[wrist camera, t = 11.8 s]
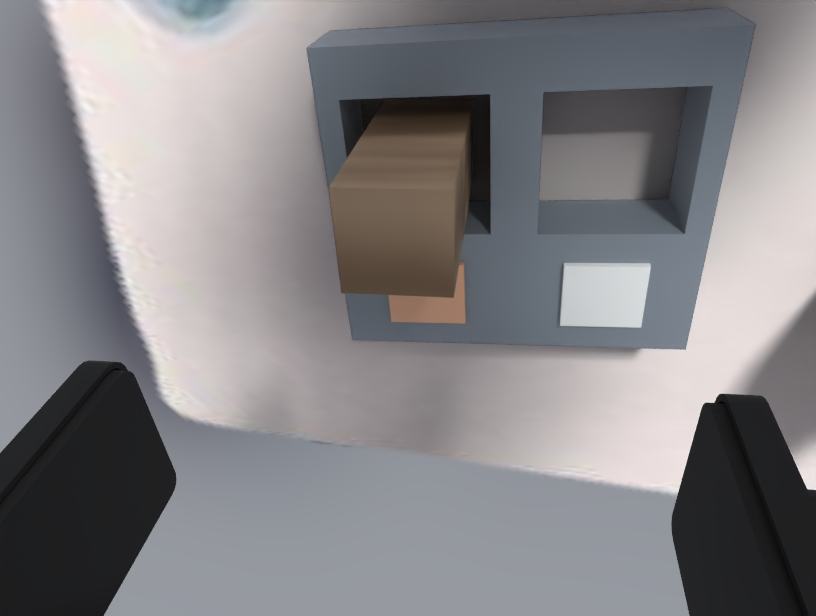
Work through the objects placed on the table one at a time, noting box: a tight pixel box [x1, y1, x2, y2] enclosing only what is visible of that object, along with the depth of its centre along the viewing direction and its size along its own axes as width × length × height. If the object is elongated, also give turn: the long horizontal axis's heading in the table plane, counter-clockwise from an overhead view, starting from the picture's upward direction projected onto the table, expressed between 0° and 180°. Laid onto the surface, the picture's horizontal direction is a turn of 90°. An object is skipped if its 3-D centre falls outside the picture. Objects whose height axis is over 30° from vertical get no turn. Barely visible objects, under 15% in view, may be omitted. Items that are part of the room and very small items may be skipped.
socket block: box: [307, 8, 756, 350], centre depth 28 cm, size 14×16×4 cm
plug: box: [329, 99, 473, 298], centre depth 25 cm, size 4×4×10 cm
